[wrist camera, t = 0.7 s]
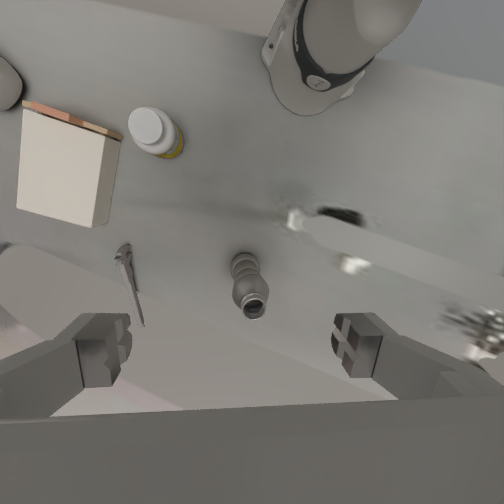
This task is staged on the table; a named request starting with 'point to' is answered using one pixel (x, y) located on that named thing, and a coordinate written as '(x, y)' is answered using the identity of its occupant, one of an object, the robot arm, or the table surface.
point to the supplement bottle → (155, 132)
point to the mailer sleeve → (65, 171)
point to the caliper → (129, 280)
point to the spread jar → (9, 85)
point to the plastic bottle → (249, 286)
